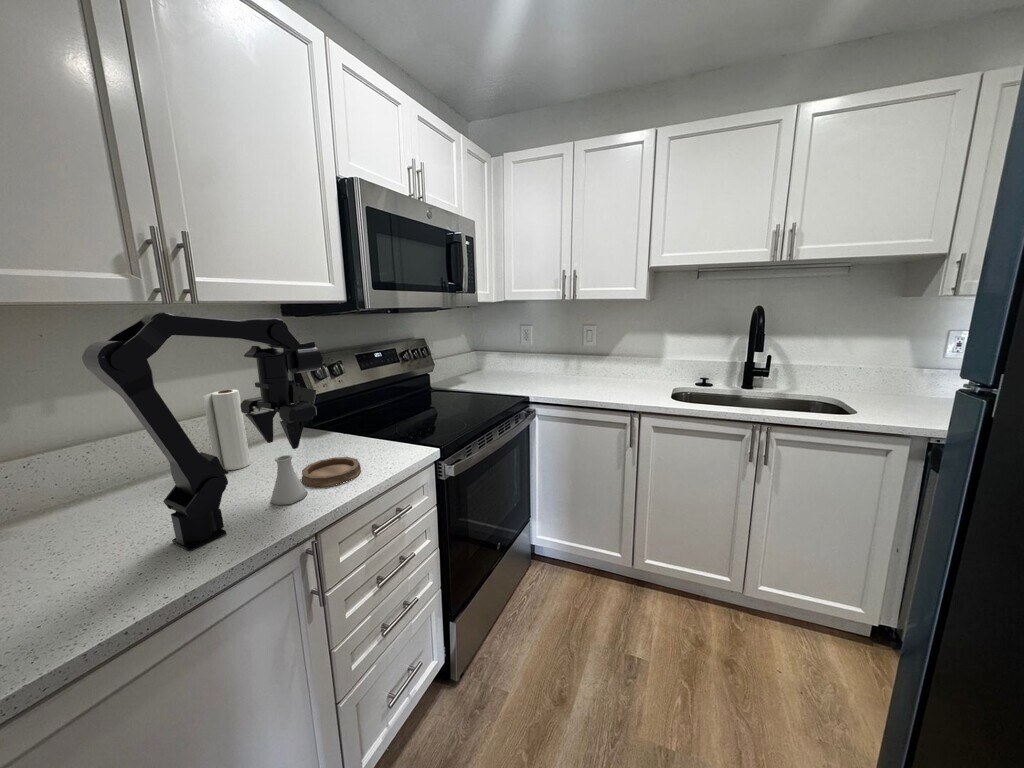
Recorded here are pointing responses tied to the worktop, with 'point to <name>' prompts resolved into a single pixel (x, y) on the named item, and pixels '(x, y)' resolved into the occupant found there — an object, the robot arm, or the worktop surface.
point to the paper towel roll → (227, 428)
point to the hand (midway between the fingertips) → (282, 445)
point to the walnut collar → (330, 471)
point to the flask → (287, 483)
